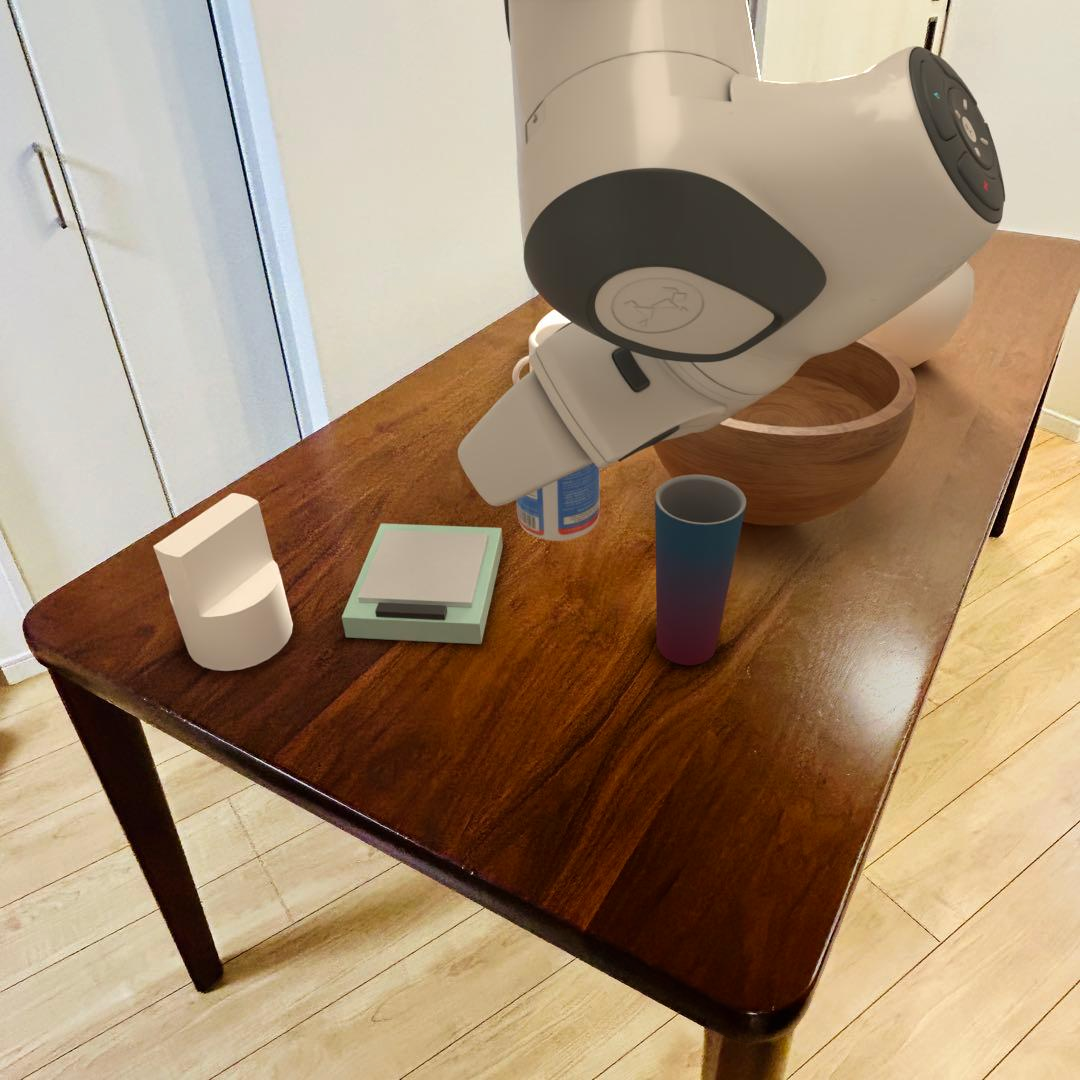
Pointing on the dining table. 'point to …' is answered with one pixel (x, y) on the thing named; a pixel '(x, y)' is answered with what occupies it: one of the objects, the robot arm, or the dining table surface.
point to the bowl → (808, 436)
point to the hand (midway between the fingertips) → (547, 445)
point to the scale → (425, 584)
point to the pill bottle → (562, 507)
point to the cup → (694, 562)
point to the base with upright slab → (226, 586)
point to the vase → (928, 320)
